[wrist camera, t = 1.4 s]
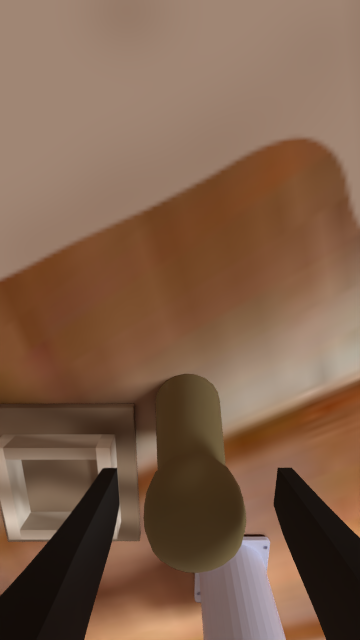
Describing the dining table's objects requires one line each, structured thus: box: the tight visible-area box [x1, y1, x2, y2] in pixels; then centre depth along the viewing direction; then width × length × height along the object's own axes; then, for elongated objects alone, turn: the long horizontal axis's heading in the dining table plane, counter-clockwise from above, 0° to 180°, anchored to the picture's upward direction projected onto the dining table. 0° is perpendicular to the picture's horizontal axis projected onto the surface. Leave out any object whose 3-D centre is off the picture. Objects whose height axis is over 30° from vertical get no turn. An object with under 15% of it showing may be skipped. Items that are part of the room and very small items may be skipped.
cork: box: [144, 374, 246, 573], centre depth 15 cm, size 6×6×11 cm
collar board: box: [0, 404, 141, 542], centre depth 21 cm, size 16×14×2 cm
